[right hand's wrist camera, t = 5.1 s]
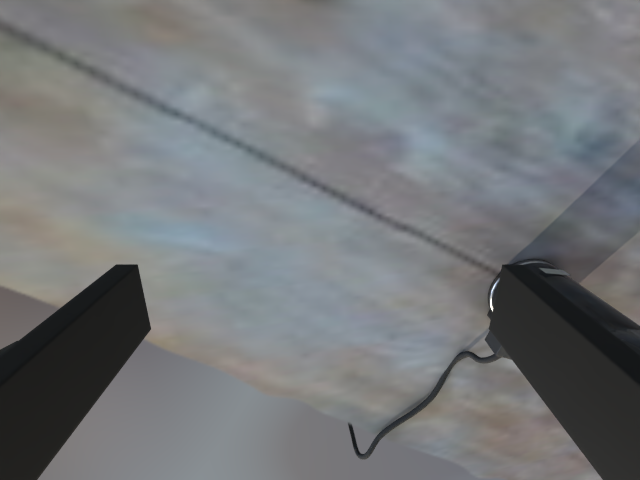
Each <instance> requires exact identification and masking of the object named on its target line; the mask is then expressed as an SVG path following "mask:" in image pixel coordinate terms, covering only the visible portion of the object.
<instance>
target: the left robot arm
mask: <svg viewBox="0 0 640 480" xmlns="http://www.w3.org/2000/svg"><path fill="white" fill-rule="evenodd" d="M512 265H525V266H526V267H527V268H529V269H530V270H531V271H533V272H534V273H535V274H536V275H538V276H539V277H540V278H541V279H543V280H544V281H545V282H547V283H548V284H549V285H550V286H552V287H553V288H554V289H556V290H557V291H558V292H559V293H561V294H562V295H563V296H565V297H566V298H567V299H568V300H570V301H571V302H572V303H573V304H575V305H576V306H577V307H579V308H580V309H581V310H582V311H584V312H585V313H586V314H588V315H589V316H590V317H591V318H593V319H594V320H595V321H597V322H598V323H599V324H600V325H602V326H603V327H604V328H605V329H607V330H608V331H609V332H611V333H612V334H613V335H614V336H616V337H617V338H618V339H620V340H625V341H627V342H629V343H631V344H633V345H635V346H636V347H638V348H640V326H639V325H638V324H636V323H635V322H633V321H632V320H631V319H629V318H628V317H626V316H625V315H623V314H622V313H620V312H619V311H617V310H616V309H615V308H613V307H612V306H610V305H609V304H607V303H606V302H604V301H603V300H602V299H600V298H599V297H597V296H596V295H594V294H593V293H591V292H590V291H588V290H587V289H586V288H584V287H583V286H581V285H580V284H578V283H577V282H575V281H574V280H572V279H571V278H570V277H568V276H567V275H570V274H568V273H567V272H565V271H564V270H559V269H558V268H557V267H555V266H554V265H552V264H551V263H549V262H546V261H543V260H537V259H530V260H524V261H520V262H517V263H514V264H512ZM500 274H501V273H500ZM500 274H499V275H498V276H497V277H496V278H495V279H494V281H493V283H492V284H491V287H490V289H489V293H488V304H489V307H490V310H489V312H488V314H487V316H488V317H489V318H490V320H491V317H492V312H493V307H494V303H495V298H496V293H497V288H498V284H499V279H500ZM485 341H486V342H487V344H488V345H489V346H490V348H491V349H492V351H493V352H494V354H493V355H491V356H489V357H485V358H480V357H478V356H477V355H475V354H474V353H472V352H469V351H465V352H463V353H460V354H459V355H457V356H456V357H455V358H454V360H453V361H452V363H451V364H450V365H449V367H448V368H447V369H446V371H445V372H444V374H443V375H442V376H441V378H440V380H439V382H438V384H437V385H436V387H435V389H434V390H433V392H432V393H431V394H430V395H429V396H428V398H427V399H426V400H424V401H423V402H422V403H421V404H420V405H418V406H417V407H416V408H414V409H413V410H412V411H410V412H409V413H407V414H405V415H404V416H402V417H401V418H399V419H398V420H396V421H395V422H393V423H392V424H390V425H389V426H388V427H386V428H385V429H384V430H383V431H381V432H380V433H379V434H378V435H377V437H376V438H375V439H374V441H373V443H372V444H371V446H370V448H369V449H368V451H367V452H366V453H365V454H361V453H360V452H359V449H358V447H357V442H356V438H355V434H354V430H353V426H352V424H350V423H348V426H349V430H350V435H351V439H352V444H353V448H354V451H355V454H356V455H357V457H358V458H360V459H367V458H368V457H369V456H370V455H371V453H372V452H373V450H374V449H375V447H376V445H377V444H378V442H379V441H380V440H381V439H382V438H383V437H384V436H385V435H386V434H387V433H388V432H390V431H391V430H392V429H394V428H395V427H397V426H398V425H400V424H401V423H403V422H405V421H406V420H408V419H409V418H411V417H412V416H414V415H415V414H417V413H418V412H420V411H421V410H422V409H423V408H425V407H426V406H427V405H428V404H429V403H430V402H431V401H432V400H433V399H434V398H435V397H436V395H437V394H438V392H439V391H440V389H441V387H442V385H443V384H444V382H445V380H446V378H447V376H448V374H449V372H450V370H451V369H452V367H453V366H454V365H455V364H456V363H457V362H458V361H459V360H461V359H463V358H466V357H470V358H472V359H473V360H475V361H476V362H478V363H490V362H493V361H496V360H498V359H499V358H501V357H504V358H507V359H511V357H510V356H509V355H508V353H507V352H506V351H505V350H504V348H503V347H502V346H501V344H500V343H499V342H498V340H497V339H496V338H495V336H494V335H493V334H492V332H491V331H489V333H488V335H487V336H486V338H485ZM511 360H512V359H511Z"/></svg>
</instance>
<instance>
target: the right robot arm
mask: <svg viewBox="0 0 640 480" xmlns="http://www.w3.org/2000/svg"><path fill="white" fill-rule="evenodd" d="M150 330H151V327H150V322H149V317H148V312H147V307H146V303H145V298H144V293H143V288H142V284H141V279H140V274H139V269H138V265H115V266H114V267H113V268H111V269H110V270H109V271H107V272H106V273H105V274H104V275H102V276H101V277H100V278H99V279H97V280H96V281H95V282H93V283H92V284H91V285H90V286H88V287H87V288H86V289H84V290H83V291H82V292H81V293H79V294H78V295H77V296H75V297H74V298H73V299H72V300H70V301H69V302H68V303H67V304H65V305H64V306H63V307H61V308H60V309H59V310H58V311H56V312H55V313H54V314H52V315H51V316H50V317H49V318H47V319H46V320H45V321H44V322H42V323H41V324H40V325H38V326H37V327H36V328H35V329H33V330H32V331H31V332H29V333H28V334H27V335H26V336H24V337H23V338H22V339H20V340H19V341H16V342H14V343H12V344H10V345H8V346H6V347H5V348H3V349H1V350H0V480H37V479H38V478H39V477H40V475H41V474H42V473H43V471H44V470H45V469H46V467H47V466H48V465H49V463H50V462H51V461H52V459H53V458H54V457H55V455H56V454H57V453H58V451H59V450H60V449H61V447H62V446H63V445H64V443H65V442H66V441H67V439H68V438H69V437H70V436H71V434H72V433H73V432H74V430H75V429H76V428H77V426H78V425H79V424H80V422H81V421H82V420H83V418H84V417H85V416H86V414H87V413H88V412H89V410H90V409H91V408H92V406H93V405H94V404H95V402H96V401H97V400H98V398H99V397H100V396H101V394H102V393H103V392H104V391H105V389H106V388H107V387H108V385H109V384H110V383H111V381H112V380H113V379H114V377H115V376H116V375H117V373H118V372H119V371H120V369H121V368H122V367H123V365H124V364H125V363H126V361H127V360H128V359H129V357H130V356H131V355H132V353H133V352H134V351H135V349H136V348H137V347H138V346H139V344H140V343H141V342H142V340H143V339H144V338H145V336H146V335H147V334H148V332H149V331H150ZM489 330H490V331H491V332H492V334H493V335H494V336H495V338H496V339H497V340H498V342H499V343H500V344H501V346H502V347H503V348H504V350H505V351H506V352H507V353H508V355H509V356H510V357H511V359H512V360H513V361H514V363H515V364H516V365H517V367H518V368H519V369H520V371H521V372H522V373H523V375H524V376H525V377H526V379H527V380H528V381H529V383H530V384H531V385H532V387H533V388H534V389H535V391H536V392H537V393H538V395H539V396H540V397H541V398H542V400H543V401H544V402H545V404H546V405H547V406H548V408H549V409H550V410H551V412H552V413H553V414H554V416H555V417H556V418H557V420H558V421H559V422H560V424H561V425H562V426H563V428H564V429H565V430H566V432H567V433H568V434H569V436H570V437H571V438H572V439H573V441H574V442H575V443H576V445H577V446H578V447H579V449H580V450H581V451H582V453H583V454H584V455H585V457H586V458H587V459H588V461H589V462H590V463H591V465H592V466H593V467H594V469H595V470H596V471H597V473H598V474H599V475H600V477H601V478H602V479H603V480H640V348H638V347H636V346H635V345H633V344H631V343H629V342H627V341H625V340H620V339H618V338H617V337H616V336H614V335H613V334H612V333H611V332H609V331H608V330H607V329H605V328H604V327H603V326H602V325H600V324H599V323H598V322H597V321H595V320H594V319H593V318H591V317H590V316H589V315H588V314H586V313H585V312H584V311H582V310H581V309H580V308H579V307H577V306H576V305H575V304H573V303H572V302H571V301H570V300H568V299H567V298H566V297H565V296H563V295H562V294H561V293H559V292H558V291H557V290H556V289H554V288H553V287H552V286H550V285H549V284H548V283H547V282H545V281H544V280H543V279H541V278H540V277H539V276H538V275H536V274H535V273H534V272H533V271H531V270H530V269H529V268H527V267H526V266H525V265H502V269H501V274H500V279H499V284H498V288H497V293H496V298H495V303H494V307H493V312H492V317H491V322H490V327H489Z"/></svg>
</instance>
